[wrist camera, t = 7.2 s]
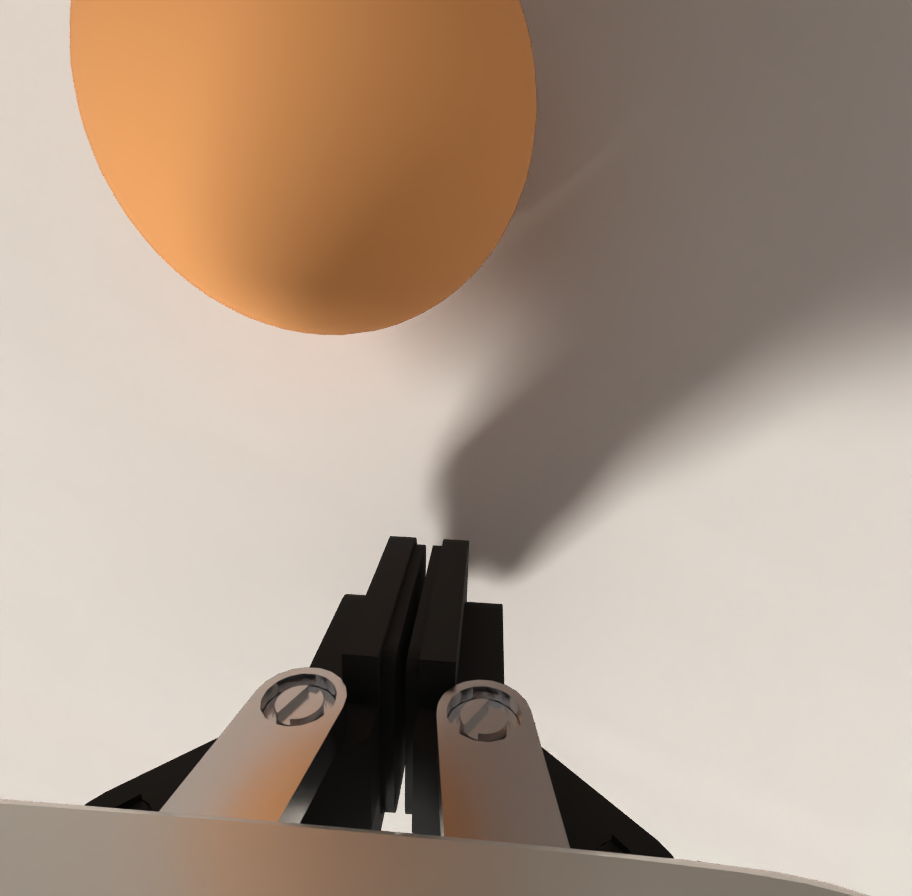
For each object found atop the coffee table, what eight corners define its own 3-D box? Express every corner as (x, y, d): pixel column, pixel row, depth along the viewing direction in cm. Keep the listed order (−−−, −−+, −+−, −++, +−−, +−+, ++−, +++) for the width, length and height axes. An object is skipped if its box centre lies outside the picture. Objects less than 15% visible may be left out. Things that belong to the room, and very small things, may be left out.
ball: (400, 191, 4) (566, 366, 10) (446, -573, 4) (581, 25, 10) (-81, 269, 6) (279, 374, 12) (-28, -235, 7) (299, 97, 12)
